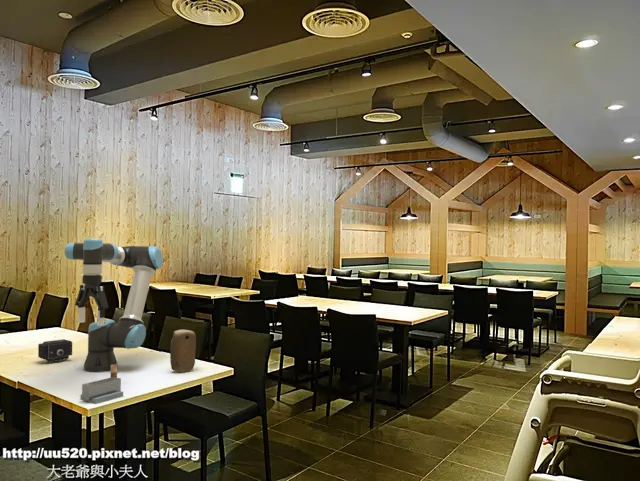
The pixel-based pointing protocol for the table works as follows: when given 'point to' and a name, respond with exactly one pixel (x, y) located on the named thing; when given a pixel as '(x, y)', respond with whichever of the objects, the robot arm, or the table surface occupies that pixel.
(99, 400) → the tray
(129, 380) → the table surface
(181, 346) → the stone
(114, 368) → the beam
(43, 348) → the camera
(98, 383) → the grey rectangular block
